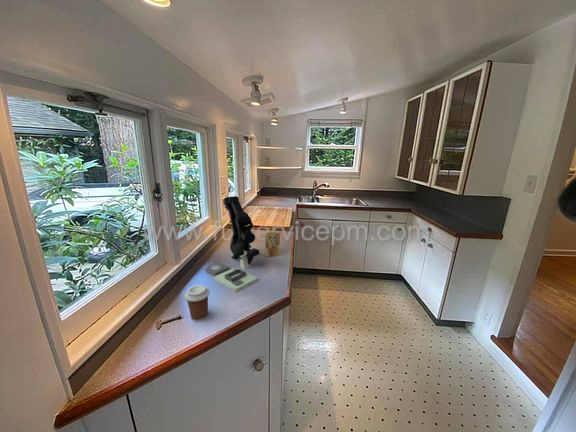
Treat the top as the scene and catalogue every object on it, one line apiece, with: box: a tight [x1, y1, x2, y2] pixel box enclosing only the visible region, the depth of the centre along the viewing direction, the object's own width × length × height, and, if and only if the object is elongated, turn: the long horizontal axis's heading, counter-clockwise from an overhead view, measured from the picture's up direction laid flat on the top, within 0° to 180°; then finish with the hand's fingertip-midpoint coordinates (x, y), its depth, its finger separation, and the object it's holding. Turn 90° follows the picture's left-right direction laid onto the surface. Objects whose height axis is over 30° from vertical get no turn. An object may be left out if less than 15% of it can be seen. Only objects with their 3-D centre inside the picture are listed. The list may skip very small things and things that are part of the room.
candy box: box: [264, 230, 281, 258], centre depth 151 cm, size 9×4×15 cm, turn 110°
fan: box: [204, 262, 230, 277], centre depth 132 cm, size 9×9×3 cm
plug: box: [236, 252, 252, 270], centre depth 137 cm, size 9×3×7 cm, turn 139°
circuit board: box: [213, 266, 259, 292], centre depth 123 cm, size 18×14×4 cm
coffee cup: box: [184, 284, 210, 322], centre depth 95 cm, size 9×9×12 cm
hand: (245, 263), depth 138 cm, fingers open, 6 cm apart
